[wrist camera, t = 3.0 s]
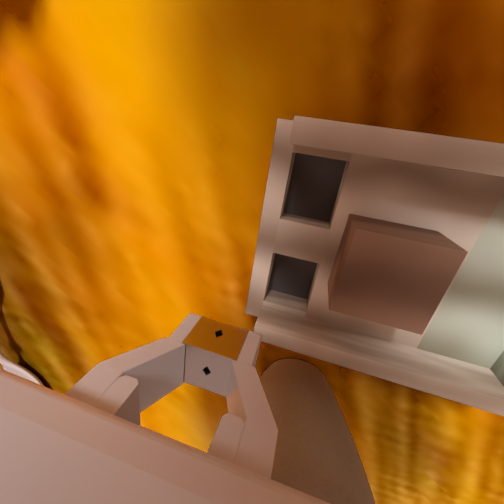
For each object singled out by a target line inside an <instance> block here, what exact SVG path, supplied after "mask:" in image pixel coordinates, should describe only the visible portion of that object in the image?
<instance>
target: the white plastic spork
mask: <svg viewBox="0 0 504 504" xmlns="http://www.w3.org/2000/svg"><path fill="white" fill-rule="evenodd" d="M0 349H1V346H0ZM0 363H1V364H2V365H3V368H4V370H6V371H8V372H10V373H13V374H15V375H18V376H20V377H23V378H25V379H27V380H30V381H32V382H35V383H37V384H40V385H42V386H44V385H43V383H42V382H41V381H40V379H39V378H38V377H37V376H36V375H35V374H33V373H32V372H31V371H29V370H27V369H26V368H24V367H22V366H20V365H18V364H17V363H15V362H13V361H11V360H10V359H8V358H7V357H6V356H5V355H4V354H3V353H2V352H1V351H0Z"/></svg>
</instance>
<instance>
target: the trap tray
mask: <svg viewBox="0 0 504 504" xmlns="http://www.w3.org/2000/svg"><path fill="white" fill-rule="evenodd" d="M349 214H355V215H360V216H365V217H370V218H375V219H380V220H385V221H390V222H395V223H400V224H405V225H410V226H415V227H420V228H425V229H430V230H435V231H438V232H440V233H441V234H443V235H444V236H446V237H447V238H449V239H450V240H451V241H453V242H454V243H456V244H457V245H459V246H460V247H462V248H463V249H465V250H466V251H467V252H468V253H467V255H466V257H465V259H464V260H463V262H462V264H461V266H460V268H459V269H458V271H457V273H456V275H455V276H454V278H453V280H452V282H451V284H450V285H449V287H448V289H447V291H446V293H445V294H444V296H443V298H442V300H441V302H440V303H439V305H438V307H437V309H436V311H435V312H434V314H433V316H432V318H431V320H430V321H429V323H428V325H427V327H426V329H425V330H424V332H423V334H422V335H420V334H416V333H413V332H409V331H405V330H402V329H398V328H394V327H390V326H387V325H383V324H379V323H376V322H372V321H368V320H365V319H361V318H357V317H354V316H350V315H346V314H342V313H339V312H335V311H331V310H329V304H328V280H329V276H330V273H331V270H332V267H333V264H334V261H335V257H336V254H337V251H338V248H339V245H340V241H341V238H342V235H343V232H344V229H345V226H346V222H347V219H348V216H349ZM245 313H246V314H249V315H253V316H256V317H258V318H257V321H256V323H255V327H254V332H257V333H260V334H262V339H261V342H264V343H268V344H271V345H274V346H277V347H281V348H284V349H287V350H290V351H293V352H297V353H300V354H303V355H306V356H310V357H313V358H316V359H319V360H323V361H326V362H329V363H332V364H336V365H339V366H342V367H345V368H349V369H352V370H355V371H358V372H362V373H365V374H368V375H371V376H375V377H378V378H381V379H384V380H388V381H391V382H394V383H397V384H401V385H404V386H407V387H410V388H414V389H417V390H420V391H423V392H426V393H430V394H433V395H436V396H439V397H443V398H446V399H449V400H452V401H456V402H459V403H462V404H465V405H469V406H472V407H475V408H478V409H482V410H485V411H488V412H491V413H495V414H498V415H501V416H504V144H503V143H495V142H488V141H481V140H473V139H466V138H459V137H451V136H444V135H436V134H429V133H422V132H414V131H407V130H399V129H392V128H385V127H377V126H370V125H363V124H355V123H348V122H340V121H333V120H326V119H318V118H311V117H303V116H296V115H295V116H294V120H287V119H280V118H278V119H277V125H276V131H275V137H274V143H273V149H272V155H271V161H270V167H269V173H268V179H267V185H266V191H265V197H264V203H263V209H262V216H261V222H260V228H259V234H258V240H257V246H256V252H255V258H254V264H253V270H252V276H251V282H250V288H249V294H248V300H247V306H246V312H245Z"/></svg>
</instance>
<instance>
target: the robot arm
mask: <svg viewBox="0 0 504 504" xmlns="http://www.w3.org/2000/svg"><path fill="white" fill-rule="evenodd" d="M261 339H262V334H260V333H257V332H253V331H249V330H245V329H242V328H238V327H235V326H232V325H228V324H225V323H222V322H219V321H216V320H213V319H210V318H207V317H204V316H200V315H197V314H194V313H190V314H189V315H188V316H187V317H186V318H185V319H184V320H183V322H182V323H181V324H180V325H179V326H178V327H177V329H176V330H175V331H174V332H173V333H172V335H171V336H170V337H169V338H162V339H159V340H157V341H154V342H152V343H149V344H147V345H144V346H141V347H139V348H136V349H134V350H131V351H128V352H126V353H123V354H121V355H118V356H116V357H113V358H110V359H108V360H105V361H103V362H100V363H98V364H97V365H96V366H95V367H94V368H93V369H92V370H90V371H89V372H88V373H87V374H86V375H85V376H84V377H83V378H82V379H81V380H80V381H78V382H77V383H76V384H75V385H74V386H73V387H72V388H71V389H70V390H69V391H68V392H67V393H65V394H62V393H59V392H57V391H54V390H52V389H49V388H47V387H45V386H42V385H40V384H37V383H35V382H32V381H30V380H27V379H25V378H23V377H20V376H18V375H15V374H13V373H10V372H8V371H6V370H3V369H1V368H0V504H331V503H328V502H326V501H323V500H321V499H319V498H316V497H314V496H311V495H309V494H306V493H304V492H301V491H299V490H297V489H294V488H292V487H289V486H287V485H284V484H282V483H279V482H277V481H275V480H272V479H271V474H272V467H273V461H274V454H275V448H276V442H277V435H278V428H277V426H276V423H275V420H274V417H273V415H272V412H271V409H270V406H269V404H268V401H267V398H266V395H265V392H264V390H263V387H262V384H261V381H260V379H259V376H258V373H257V370H256V367H255V366H256V362H257V358H258V353H259V348H260V344H261ZM183 382H185V383H188V384H191V385H194V386H197V387H200V388H204V389H206V390H209V391H211V392H214V393H216V394H219V395H221V396H224V397H226V402H227V409H228V413H226V414H224V415H222V417H221V420H220V422H219V425H218V427H217V430H216V432H215V435H214V438H213V440H212V443H211V445H210V448H209V450H208V453H206V452H204V451H201V450H199V449H196V448H194V447H191V446H189V445H186V444H184V443H181V442H179V441H177V440H174V439H172V438H169V437H167V436H164V435H162V434H159V433H157V432H155V431H152V430H150V429H147V428H145V427H142V426H140V412H141V411H143V410H144V409H146V408H147V407H149V406H150V405H152V404H153V403H155V402H156V401H158V400H159V399H161V398H162V397H164V396H165V395H167V394H168V393H170V392H171V391H173V390H174V389H176V388H177V387H178V386H180V385H181V384H183Z"/></svg>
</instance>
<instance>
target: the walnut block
mask: <svg viewBox="0 0 504 504" xmlns="http://www.w3.org/2000/svg"><path fill="white" fill-rule="evenodd" d="M467 253H468V252H467V251H466V250H465V249H463V248H462V247H460V246H459V245H457V244H456V243H454V242H453V241H451V240H450V239H449V238H447V237H446V236H444V235H443V234H441V233H440V232H438V231H435V230H430V229H425V228H420V227H415V226H410V225H405V224H400V223H395V222H390V221H385V220H380V219H375V218H370V217H365V216H360V215H355V214H349V216H348V219H347V222H346V226H345V229H344V232H343V235H342V238H341V241H340V245H339V248H338V251H337V254H336V257H335V261H334V264H333V267H332V270H331V273H330V276H329V280H328V304H329V310H331V311H335V312H339V313H342V314H346V315H350V316H354V317H357V318H361V319H365V320H368V321H372V322H376V323H379V324H383V325H387V326H390V327H394V328H398V329H402V330H405V331H409V332H413V333H416V334H420V335H422V334H423V332H424V330H425V329H426V327H427V325H428V323H429V321H430V320H431V318H432V316H433V314H434V312H435V311H436V309H437V307H438V305H439V303H440V302H441V300H442V298H443V296H444V294H445V293H446V291H447V289H448V287H449V285H450V284H451V282H452V280H453V278H454V276H455V275H456V273H457V271H458V269H459V268H460V266H461V264H462V262H463V260H464V259H465V257H466V255H467Z"/></svg>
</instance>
